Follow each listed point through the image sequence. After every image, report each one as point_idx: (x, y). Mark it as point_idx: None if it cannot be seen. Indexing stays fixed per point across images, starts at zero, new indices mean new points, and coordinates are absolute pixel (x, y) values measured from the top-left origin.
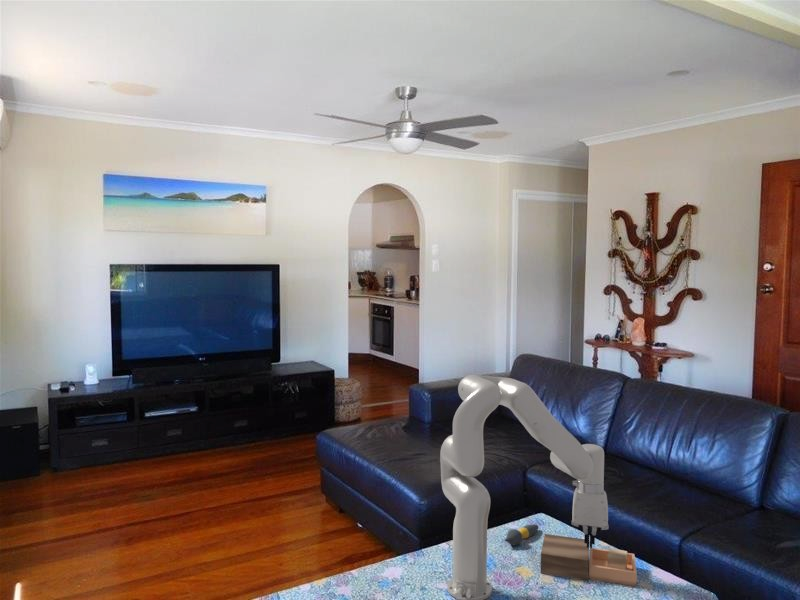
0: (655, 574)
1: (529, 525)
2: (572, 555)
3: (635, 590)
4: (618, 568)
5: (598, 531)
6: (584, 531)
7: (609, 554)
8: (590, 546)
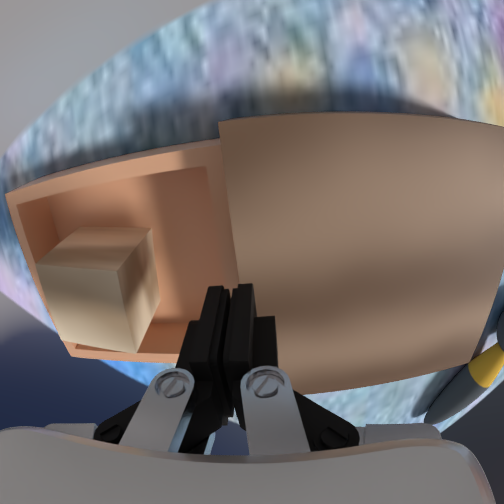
0: (31, 293)
1: (464, 406)
2: (353, 160)
3: (40, 142)
4: (92, 237)
5: (128, 409)
6: (278, 392)
7: (109, 281)
8: (220, 290)
